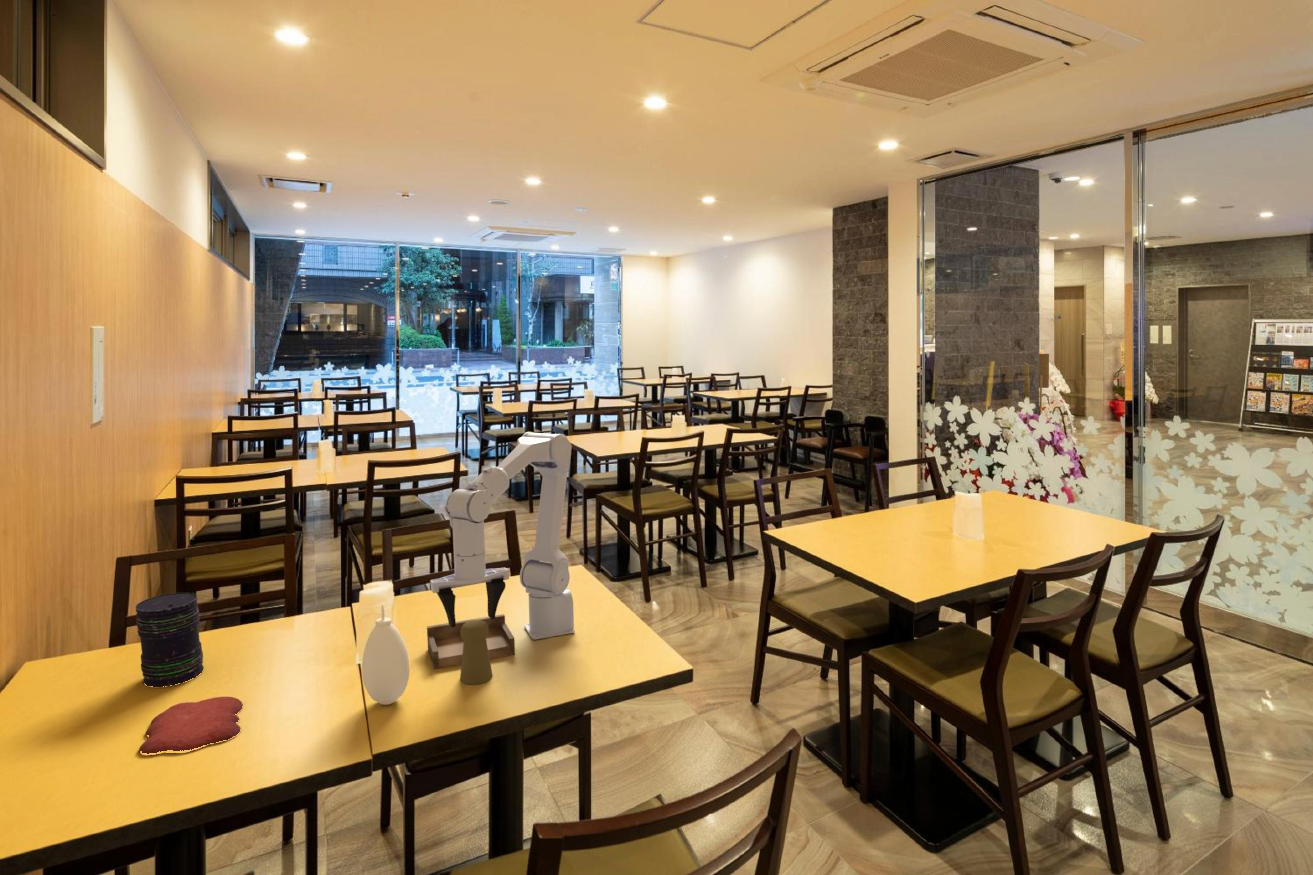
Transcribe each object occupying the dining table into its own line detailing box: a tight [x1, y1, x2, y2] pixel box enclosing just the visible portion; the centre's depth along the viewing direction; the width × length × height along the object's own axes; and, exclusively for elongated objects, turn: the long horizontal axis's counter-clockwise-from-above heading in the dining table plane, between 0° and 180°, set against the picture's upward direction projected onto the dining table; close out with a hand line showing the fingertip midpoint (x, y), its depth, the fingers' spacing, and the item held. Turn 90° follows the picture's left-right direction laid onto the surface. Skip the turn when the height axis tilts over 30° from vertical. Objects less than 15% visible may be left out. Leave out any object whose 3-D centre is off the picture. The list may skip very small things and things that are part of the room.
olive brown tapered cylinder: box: [459, 619, 493, 686], centre depth 134 cm, size 6×6×11 cm
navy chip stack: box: [135, 592, 205, 688], centre depth 135 cm, size 10×10×15 cm
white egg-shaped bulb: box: [361, 604, 411, 706], centre depth 125 cm, size 8×8×18 cm
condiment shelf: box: [426, 613, 516, 670], centre depth 146 cm, size 16×10×5 cm, turn 114°
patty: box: [138, 696, 244, 754], centre depth 118 cm, size 18×14×2 cm
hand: (472, 621), depth 135 cm, fingers open, 7 cm apart
